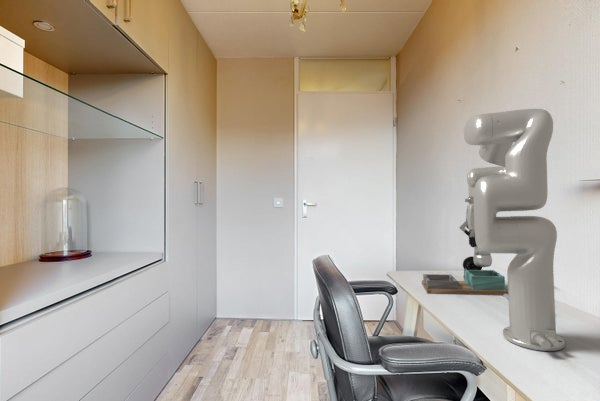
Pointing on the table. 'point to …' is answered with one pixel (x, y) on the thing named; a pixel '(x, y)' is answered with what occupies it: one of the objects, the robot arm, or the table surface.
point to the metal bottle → (481, 257)
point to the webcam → (470, 264)
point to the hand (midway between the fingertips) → (481, 246)
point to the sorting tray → (466, 283)
